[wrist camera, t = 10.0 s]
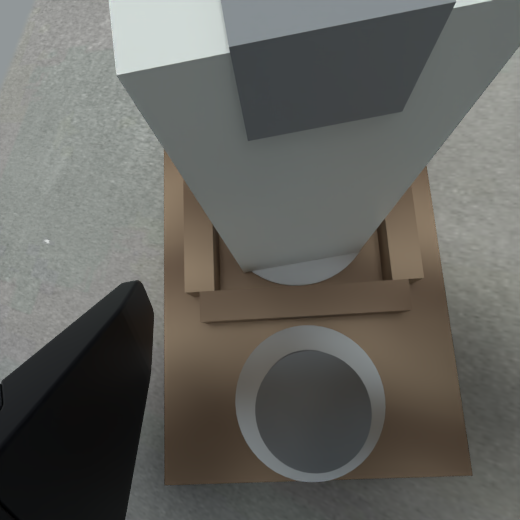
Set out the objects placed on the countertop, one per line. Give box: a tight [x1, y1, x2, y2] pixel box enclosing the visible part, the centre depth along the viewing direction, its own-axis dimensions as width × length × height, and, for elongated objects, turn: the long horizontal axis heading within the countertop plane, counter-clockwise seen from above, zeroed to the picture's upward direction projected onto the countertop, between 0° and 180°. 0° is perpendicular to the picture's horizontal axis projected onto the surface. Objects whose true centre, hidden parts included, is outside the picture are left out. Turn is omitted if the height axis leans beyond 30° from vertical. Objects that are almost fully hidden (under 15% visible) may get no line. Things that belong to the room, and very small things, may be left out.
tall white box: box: [109, 0, 520, 273], centre depth 11 cm, size 5×5×13 cm
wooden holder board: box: [164, 150, 473, 485], centre depth 16 cm, size 16×12×4 cm
